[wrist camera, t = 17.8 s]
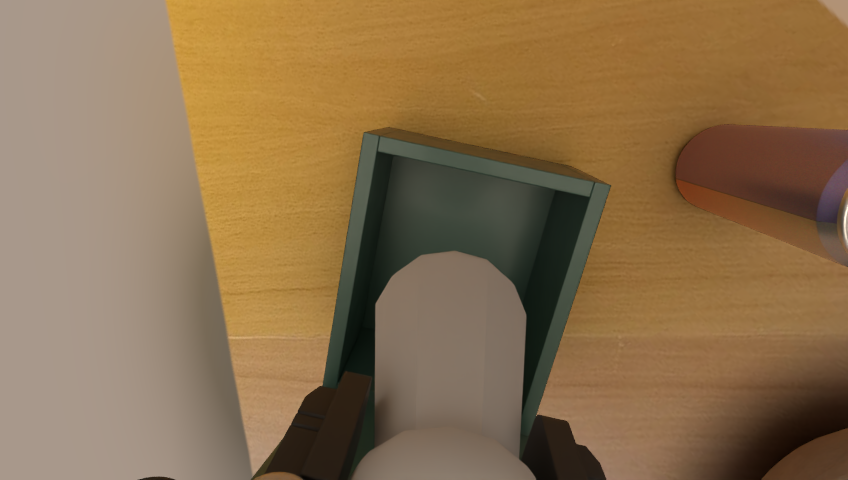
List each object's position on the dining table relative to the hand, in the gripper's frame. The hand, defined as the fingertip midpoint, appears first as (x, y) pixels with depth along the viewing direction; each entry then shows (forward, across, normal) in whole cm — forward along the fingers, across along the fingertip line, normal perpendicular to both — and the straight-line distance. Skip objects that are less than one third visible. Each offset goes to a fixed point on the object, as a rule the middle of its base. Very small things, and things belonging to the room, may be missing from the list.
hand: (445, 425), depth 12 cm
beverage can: (+24, -17, -8) cm, 31 cm away
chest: (+24, -1, +3) cm, 24 cm away
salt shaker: (+8, 0, 0) cm, 8 cm away
